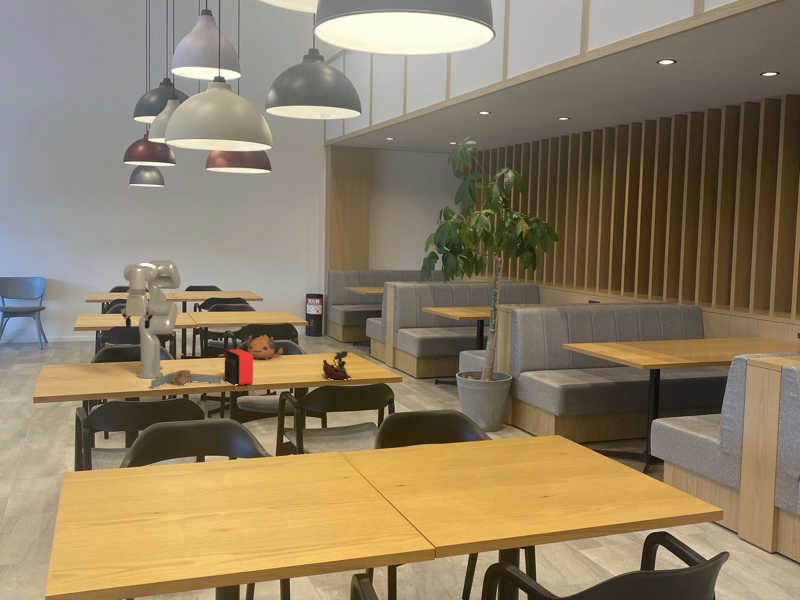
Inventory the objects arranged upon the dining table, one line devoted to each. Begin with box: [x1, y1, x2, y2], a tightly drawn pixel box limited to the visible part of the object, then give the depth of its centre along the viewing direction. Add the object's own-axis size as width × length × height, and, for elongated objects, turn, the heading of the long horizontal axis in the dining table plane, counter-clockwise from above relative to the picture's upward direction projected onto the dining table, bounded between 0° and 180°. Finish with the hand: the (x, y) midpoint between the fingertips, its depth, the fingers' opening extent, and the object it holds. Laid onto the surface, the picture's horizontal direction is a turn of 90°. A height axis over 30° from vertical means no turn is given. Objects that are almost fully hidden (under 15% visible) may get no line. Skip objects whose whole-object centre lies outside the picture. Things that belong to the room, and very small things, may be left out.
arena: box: [150, 372, 222, 388], centre depth 375 cm, size 22×26×4 cm
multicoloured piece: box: [322, 350, 352, 380], centre depth 402 cm, size 14×15×15 cm
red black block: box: [224, 348, 254, 386], centre depth 386 cm, size 10×20×16 cm, turn 33°
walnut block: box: [173, 369, 191, 385], centre depth 379 cm, size 5×8×6 cm, turn 170°
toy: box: [245, 334, 284, 361], centre depth 455 cm, size 19×17×15 cm
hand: (137, 327), depth 371 cm, fingers open, 9 cm apart
